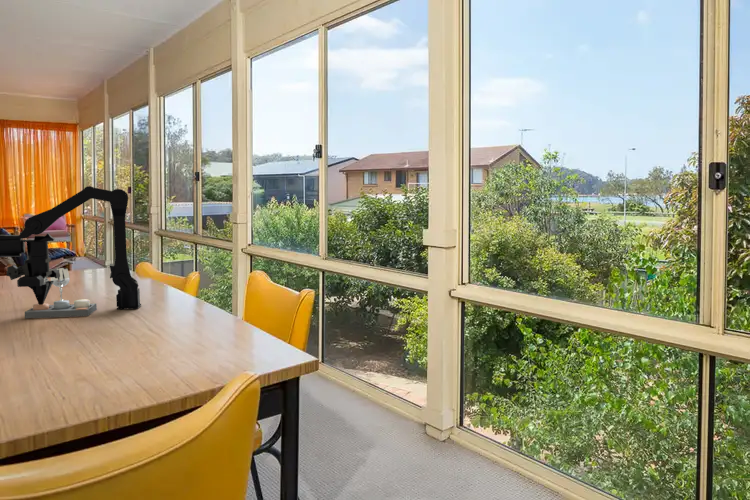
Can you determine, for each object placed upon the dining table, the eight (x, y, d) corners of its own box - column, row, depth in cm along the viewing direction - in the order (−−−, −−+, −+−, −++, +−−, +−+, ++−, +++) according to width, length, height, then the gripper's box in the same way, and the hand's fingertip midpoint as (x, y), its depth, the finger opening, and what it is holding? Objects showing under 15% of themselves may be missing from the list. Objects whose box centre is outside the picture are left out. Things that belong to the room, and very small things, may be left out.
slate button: (71, 307, 184) (71, 299, 183) (67, 310, 179) (66, 302, 179) (56, 308, 183) (56, 300, 183) (51, 311, 179) (51, 303, 178)
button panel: (96, 309, 188) (96, 302, 188) (87, 316, 178) (87, 308, 178) (37, 311, 184) (36, 304, 184) (24, 318, 175) (24, 311, 174)
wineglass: (56, 305, 195) (54, 270, 193) (49, 303, 198) (47, 269, 197) (73, 302, 199) (72, 268, 198) (66, 300, 203) (64, 267, 201)
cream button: (91, 307, 185) (91, 299, 185) (87, 309, 181) (87, 301, 180) (76, 307, 184) (76, 299, 184) (72, 310, 180) (72, 302, 180)
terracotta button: (51, 310, 183) (50, 302, 182) (46, 313, 178) (46, 305, 178) (36, 311, 182) (35, 303, 181) (31, 314, 177) (30, 306, 177)
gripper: (21, 252, 186) (24, 299, 187) (-4, 259, 167) (-1, 311, 169) (58, 252, 188) (61, 298, 189) (37, 259, 170) (40, 310, 171)
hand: (41, 304), depth 180 cm, fingers closed, pressing on terracotta button
